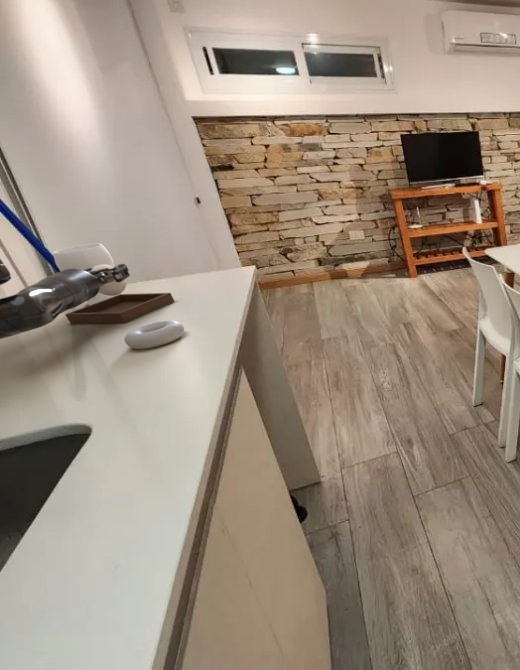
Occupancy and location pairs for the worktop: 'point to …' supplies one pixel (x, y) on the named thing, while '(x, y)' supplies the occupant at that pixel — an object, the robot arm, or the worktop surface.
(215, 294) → the worktop surface
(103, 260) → the cup
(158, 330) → the donut
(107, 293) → the egg
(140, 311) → the tray
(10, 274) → the robot arm
